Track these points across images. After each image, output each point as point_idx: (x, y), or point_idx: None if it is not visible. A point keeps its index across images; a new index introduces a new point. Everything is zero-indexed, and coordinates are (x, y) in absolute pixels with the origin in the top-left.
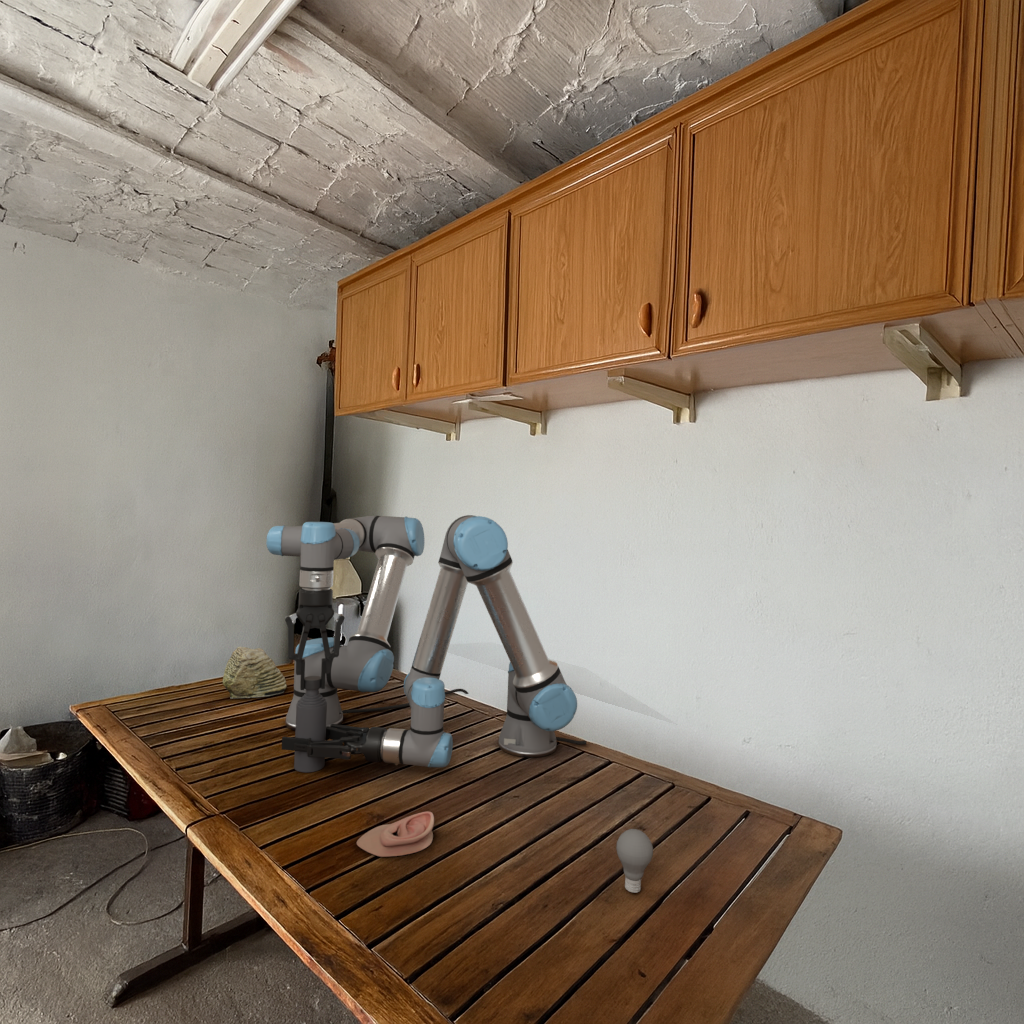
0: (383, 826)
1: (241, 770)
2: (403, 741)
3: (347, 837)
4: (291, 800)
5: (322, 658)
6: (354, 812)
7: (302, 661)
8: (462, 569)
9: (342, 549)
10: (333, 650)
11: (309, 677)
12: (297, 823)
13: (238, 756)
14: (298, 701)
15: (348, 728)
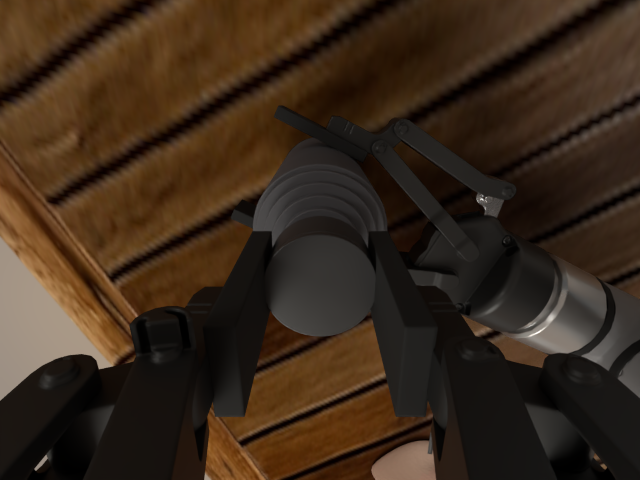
0: (416, 471)
1: (153, 158)
2: None
3: (362, 447)
4: (279, 327)
5: (411, 331)
6: (385, 389)
7: (220, 396)
8: None
9: None
10: (567, 414)
11: (299, 271)
12: (290, 399)
13: (122, 51)
14: (259, 230)
15: (448, 172)
